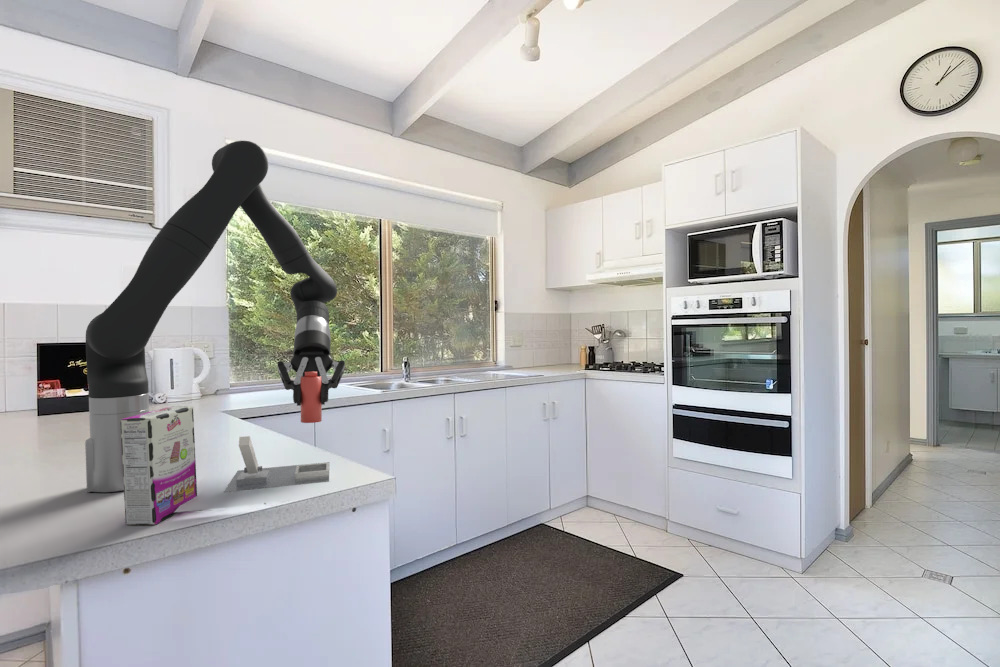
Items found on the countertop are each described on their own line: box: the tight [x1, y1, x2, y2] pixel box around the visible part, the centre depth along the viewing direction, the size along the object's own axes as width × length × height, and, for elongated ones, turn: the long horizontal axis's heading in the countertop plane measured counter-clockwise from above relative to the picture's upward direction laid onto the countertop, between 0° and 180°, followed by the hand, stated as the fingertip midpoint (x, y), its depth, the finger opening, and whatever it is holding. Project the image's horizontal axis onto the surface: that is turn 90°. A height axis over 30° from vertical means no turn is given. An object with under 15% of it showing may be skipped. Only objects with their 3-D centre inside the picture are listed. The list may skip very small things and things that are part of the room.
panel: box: [223, 461, 330, 493], centre depth 102 cm, size 18×14×2 cm
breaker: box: [238, 435, 263, 474], centre depth 95 cm, size 3×2×12 cm
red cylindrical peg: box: [300, 371, 323, 424], centre depth 108 cm, size 4×4×10 cm
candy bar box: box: [120, 405, 198, 526], centre depth 85 cm, size 11×5×16 cm, turn 179°
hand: (310, 402), depth 106 cm, fingers closed on red cylindrical peg, 4 cm apart
